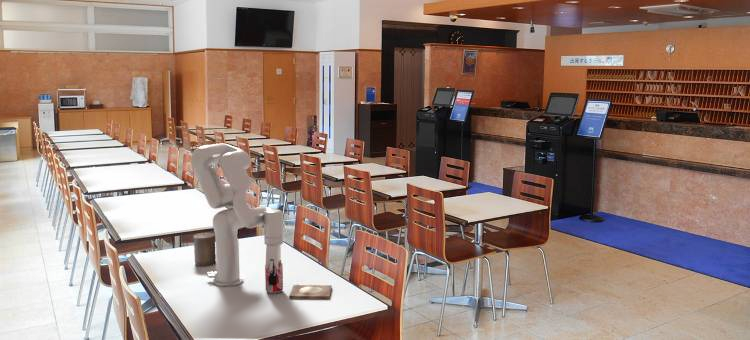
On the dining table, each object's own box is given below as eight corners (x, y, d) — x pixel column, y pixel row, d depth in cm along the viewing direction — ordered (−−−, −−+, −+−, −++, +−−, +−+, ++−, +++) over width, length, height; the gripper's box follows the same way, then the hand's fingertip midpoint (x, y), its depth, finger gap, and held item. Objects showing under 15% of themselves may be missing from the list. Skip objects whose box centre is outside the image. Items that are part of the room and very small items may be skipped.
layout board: (289, 298, 257) (289, 295, 257) (293, 287, 270) (293, 284, 270) (329, 299, 257) (329, 296, 257) (331, 288, 270) (331, 285, 270)
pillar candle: (220, 262, 304) (219, 231, 302) (204, 267, 296) (203, 236, 294) (205, 259, 310) (204, 229, 307) (190, 264, 301) (188, 233, 299)
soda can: (279, 295, 261) (279, 264, 259) (262, 293, 263) (262, 262, 261) (285, 289, 268) (285, 259, 266) (269, 287, 269) (268, 258, 267)
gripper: (268, 234, 270) (268, 274, 273) (260, 245, 253) (261, 288, 256) (286, 234, 270) (286, 275, 273) (279, 245, 253) (280, 289, 256)
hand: (274, 281), depth 265 cm, fingers closed on soda can, 7 cm apart
